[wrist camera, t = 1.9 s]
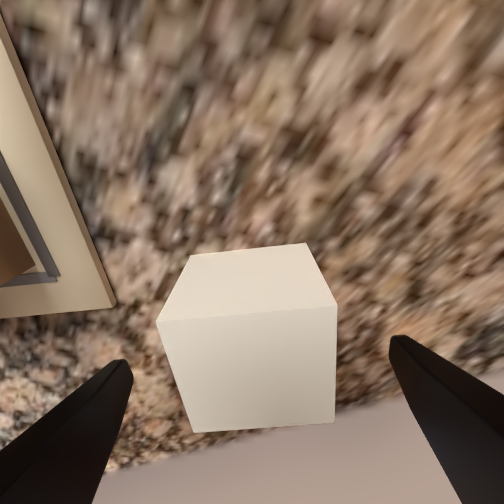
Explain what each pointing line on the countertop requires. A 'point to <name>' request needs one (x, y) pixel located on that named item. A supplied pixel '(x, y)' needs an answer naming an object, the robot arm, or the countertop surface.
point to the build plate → (42, 209)
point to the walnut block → (11, 249)
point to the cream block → (252, 339)
